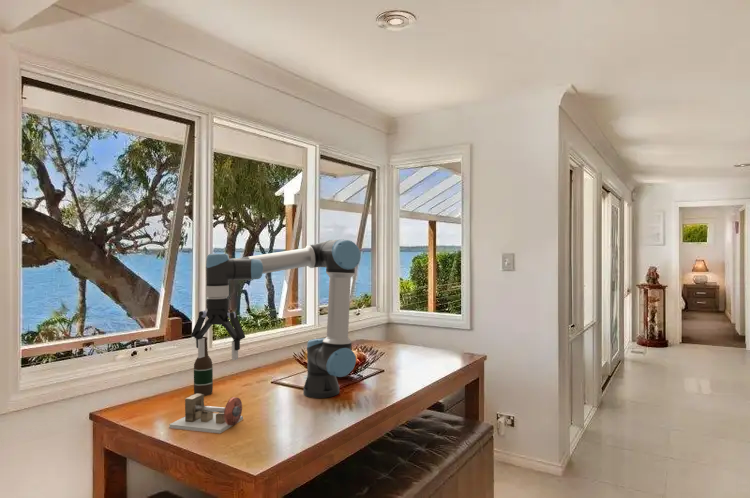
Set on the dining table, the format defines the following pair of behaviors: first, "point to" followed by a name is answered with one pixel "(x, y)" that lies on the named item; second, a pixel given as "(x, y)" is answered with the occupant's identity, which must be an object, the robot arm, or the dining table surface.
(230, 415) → the disc-ended rod
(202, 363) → the beer bottle
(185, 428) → the base board
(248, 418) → the dining table surface
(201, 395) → the eye bracket
